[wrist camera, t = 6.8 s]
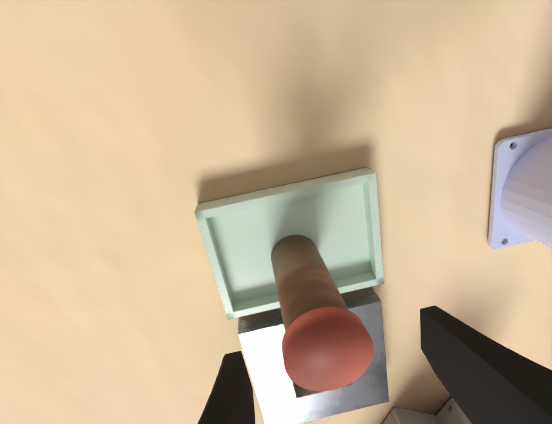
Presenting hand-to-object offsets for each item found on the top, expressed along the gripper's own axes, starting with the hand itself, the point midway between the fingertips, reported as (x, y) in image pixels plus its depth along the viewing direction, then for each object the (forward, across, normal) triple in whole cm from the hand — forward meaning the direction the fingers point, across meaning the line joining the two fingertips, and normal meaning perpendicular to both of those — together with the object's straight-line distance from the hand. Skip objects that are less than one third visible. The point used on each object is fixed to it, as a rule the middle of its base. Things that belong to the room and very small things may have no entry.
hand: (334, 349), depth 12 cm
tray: (+10, 0, 0) cm, 10 cm away
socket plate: (+10, 0, +10) cm, 14 cm away
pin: (+9, 0, +1) cm, 9 cm away
